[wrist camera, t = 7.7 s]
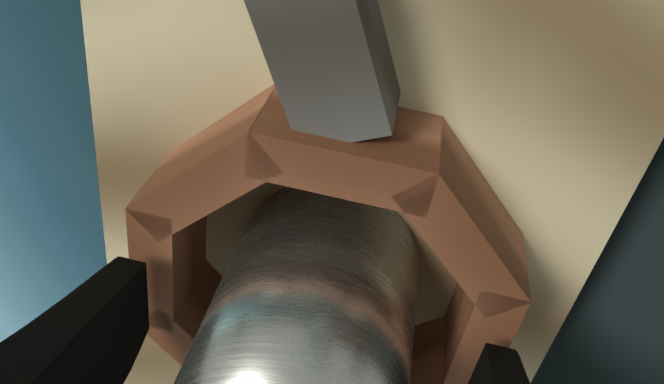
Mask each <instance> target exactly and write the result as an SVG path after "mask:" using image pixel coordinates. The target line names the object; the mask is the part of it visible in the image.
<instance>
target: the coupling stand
mask: <svg viewBox="0 0 664 384" xmlns="http://www.w3.org/2000/svg"><path fill="white" fill-rule="evenodd" d="M80 1H81V11H82V21H83V31H84V41H85V50H86V60H87V70H88V80H89V90H90V100H91V110H92V119H93V129H94V139H95V149H96V159H97V169H98V179H99V189H100V198H101V208H102V218H103V228H104V238H105V248H106V258H107V264H108V263H109V262H111V261H112V260H113V259H115V258H116V257H118V256H120V257H124V258H129V259H133V260H137V261H141V262H146V268H147V288H148V308H149V330H148V333H147V335H146V337H145V340H144V342H143V344H142V347H141V349H140V351H139V354H138V356H137V358H136V360H135V362H134V364H133V367H132V369H131V371H130V373H129V375H128V376H127V378H126V380H125V382H124V383H123V384H174V382H175V379H176V377H177V375H178V373H179V371H180V369H181V366H182V364H183V362H184V360H185V358H186V355H187V353H188V351H189V349H190V347H191V345H192V342H193V340H194V338H195V336H196V334H197V332H198V329H199V327H200V325H201V323H202V321H203V319H204V316H205V314H206V312H207V310H208V308H209V306H210V303H211V301H212V299H213V297H214V295H215V292H216V290H217V288H218V286H219V284H220V282H221V279H222V277H223V275H224V273H225V271H226V269H227V266H228V264H229V262H230V260H231V258H232V256H233V253H234V251H235V249H236V247H237V245H238V242H239V240H240V238H241V236H242V234H243V232H244V229H245V227H246V225H247V223H248V221H249V219H250V217H251V215H252V213H253V212H254V210H255V209H256V208H257V207H258V205H259V204H260V203H261V202H262V201H264V200H265V199H266V198H267V197H269V196H270V195H272V194H273V193H275V192H277V191H279V190H281V189H283V188H285V187H291V188H296V189H300V190H304V191H309V192H313V193H318V194H322V195H327V196H331V197H336V198H340V199H345V200H349V201H353V202H358V203H362V204H367V205H371V206H376V207H380V208H385V209H389V210H394V211H397V212H398V213H399V214H400V216H401V217H402V218H403V219H404V220H405V221H406V223H407V224H408V226H409V227H410V229H411V230H412V232H413V235H414V237H415V239H416V242H417V245H418V249H419V257H420V258H419V275H418V288H417V300H416V313H415V326H414V338H413V351H412V364H411V376H410V384H468V382H469V380H470V377H471V375H472V373H473V371H474V368H475V366H476V364H477V362H478V359H479V357H480V355H481V353H482V350H483V348H484V346H485V344H486V343H490V344H494V345H498V346H503V347H507V348H511V349H515V350H516V351H517V352H518V354H519V355H520V358H521V361H522V363H523V366H524V369H525V371H526V374H527V377H528V379H529V382H530V383H531V381H532V379H533V378H534V376H535V374H536V372H537V370H538V368H539V367H540V365H541V363H542V361H543V359H544V357H545V356H546V354H547V352H548V350H549V348H550V346H551V344H552V343H553V341H554V339H555V337H556V335H557V333H558V332H559V330H560V328H561V326H562V324H563V322H564V321H565V319H566V317H567V315H568V313H569V311H570V309H571V308H572V306H573V304H574V302H575V300H576V298H577V297H578V295H579V293H580V291H581V289H582V287H583V286H584V284H585V282H586V280H587V278H588V276H589V274H590V273H591V271H592V269H593V267H594V265H595V263H596V262H597V260H598V258H599V256H600V254H601V252H602V250H603V249H604V247H605V245H606V243H607V241H608V239H609V238H610V236H611V234H612V232H613V230H614V228H615V227H616V225H617V223H618V221H619V219H620V217H621V215H622V214H623V212H624V210H625V208H626V206H627V204H628V203H629V201H630V199H631V197H632V195H633V193H634V192H635V190H636V188H637V186H638V184H639V182H640V180H641V179H642V177H643V175H644V173H645V171H646V169H647V168H648V166H649V164H650V162H651V160H652V158H653V157H654V155H655V153H656V151H657V149H658V147H659V145H660V144H661V142H662V140H663V138H664V0H80Z"/></svg>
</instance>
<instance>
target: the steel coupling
mask: <svg viewBox="0 0 664 384" xmlns="http://www.w3.org/2000/svg"><path fill="white" fill-rule="evenodd" d="M419 258H420V257H419V249H418V245H417V242H416V239H415V237H414V235H413V232H412V230H411V229H410V227H409V226H408V224H407V223H406V221H405V220H404V219H403V218H402V217H401V216H400V214H399V213H398V212H397V211H394V210H389V209H385V208H380V207H376V206H371V205H367V204H362V203H358V202H353V201H349V200H345V199H340V198H336V197H331V196H327V195H322V194H318V193H313V192H309V191H304V190H300V189H296V188H291V187H285V188H283V189H281V190H279V191H277V192H275V193H273V194H272V195H270V196H269V197H267V198H266V199H265V200H264V201H262V202H261V203H260V204H259V205H258V207H257V208H256V209H255V210H254V212H253V213H252V215H251V217H250V219H249V221H248V223H247V225H246V227H245V229H244V232H243V234H242V236H241V238H240V240H239V242H238V245H237V247H236V249H235V251H234V253H233V256H232V258H231V260H230V262H229V264H228V266H227V269H226V271H225V273H224V275H223V277H222V279H221V282H220V284H219V286H218V288H217V290H216V292H215V295H214V297H213V299H212V301H211V303H210V306H209V308H208V310H207V312H206V314H205V316H204V319H203V321H202V323H201V325H200V327H199V329H198V332H197V334H196V336H195V338H194V340H193V342H192V345H191V347H190V349H189V351H188V353H187V355H186V358H185V360H184V362H183V364H182V366H181V369H180V371H179V373H178V375H177V377H176V379H175V382H174V384H410V376H411V364H412V351H413V338H414V326H415V313H416V300H417V288H418V275H419Z"/></svg>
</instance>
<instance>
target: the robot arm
mask: <svg viewBox="0 0 664 384" xmlns="http://www.w3.org/2000/svg"><path fill="white" fill-rule="evenodd" d="M148 330H149V308H148V288H147V268H146V262H141V261H137V260H133V259H129V258H124V257H120V256H118V257H116V258H115V259H113V260H112V261H111V262H109V263H108V264H107V265H106V266H104V267H103V268H102V269H100V270H99V271H98V272H97V273H95V274H94V275H93V276H91V277H90V278H89V279H88V280H86V281H85V282H84V283H82V284H81V285H80V286H79V287H77V288H76V289H75V290H73V291H72V292H71V293H69V294H68V295H67V296H66V297H64V298H63V299H62V300H60V301H59V302H57V303H56V304H55V305H53V306H52V307H51V308H49V309H48V310H46V311H45V312H44V313H42V314H41V315H40V316H38V317H37V318H36V319H34V320H33V321H31V322H30V323H29V324H27V325H26V326H24V327H23V328H21V329H20V330H18V331H17V332H15V333H14V334H12V335H11V336H9V337H8V338H6V339H5V340H3V341H2V342H0V384H123V383H124V382H125V380H126V378H127V376H128V375H129V373H130V371H131V369H132V367H133V364H134V362H135V360H136V358H137V356H138V354H139V351H140V349H141V347H142V344H143V342H144V340H145V337H146V335H147V333H148ZM468 384H530V382H529V379H528V377H527V374H526V371H525V369H524V366H523V363H522V361H521V358H520V355H519V354H518V352H517V351H516V350H515V349H511V348H507V347H503V346H498V345H494V344H490V343H486V344H485V346H484V348H483V350H482V353H481V355H480V357H479V359H478V362H477V364H476V366H475V368H474V371H473V373H472V375H471V377H470V380H469V382H468Z"/></svg>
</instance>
